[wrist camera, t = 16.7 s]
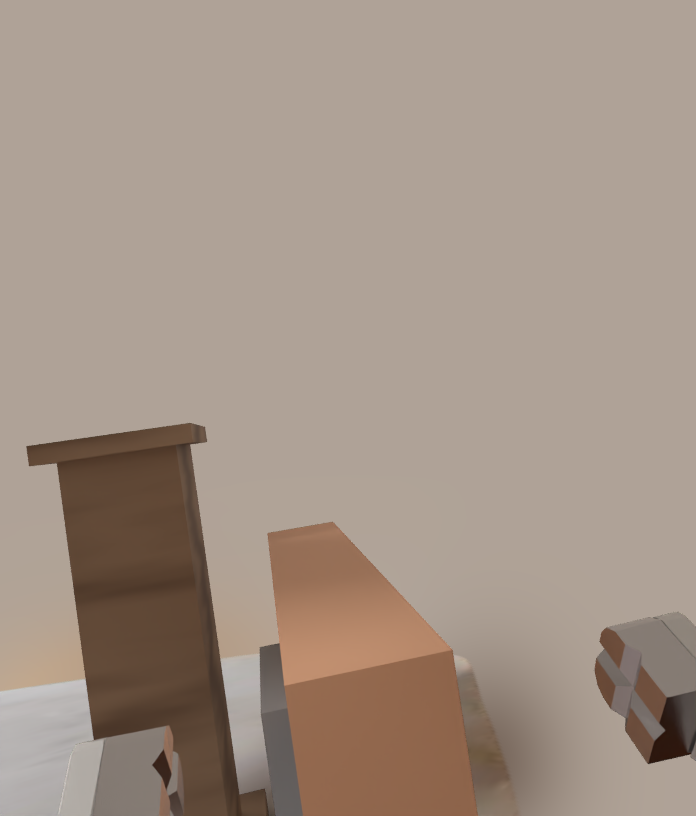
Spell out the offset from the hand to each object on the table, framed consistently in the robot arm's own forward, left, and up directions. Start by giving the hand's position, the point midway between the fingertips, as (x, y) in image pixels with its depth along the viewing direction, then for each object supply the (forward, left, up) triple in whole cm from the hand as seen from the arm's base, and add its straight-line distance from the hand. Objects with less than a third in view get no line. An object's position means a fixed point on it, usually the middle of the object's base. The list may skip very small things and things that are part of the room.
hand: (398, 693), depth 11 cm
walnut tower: (-23, +14, -20) cm, 33 cm away
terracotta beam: (-9, +11, -5) cm, 15 cm away
